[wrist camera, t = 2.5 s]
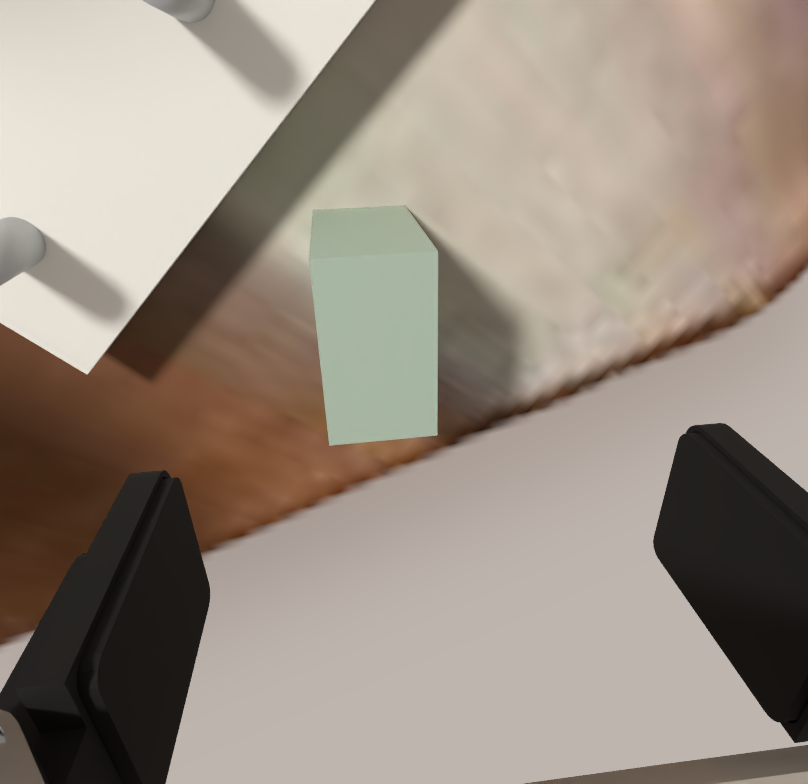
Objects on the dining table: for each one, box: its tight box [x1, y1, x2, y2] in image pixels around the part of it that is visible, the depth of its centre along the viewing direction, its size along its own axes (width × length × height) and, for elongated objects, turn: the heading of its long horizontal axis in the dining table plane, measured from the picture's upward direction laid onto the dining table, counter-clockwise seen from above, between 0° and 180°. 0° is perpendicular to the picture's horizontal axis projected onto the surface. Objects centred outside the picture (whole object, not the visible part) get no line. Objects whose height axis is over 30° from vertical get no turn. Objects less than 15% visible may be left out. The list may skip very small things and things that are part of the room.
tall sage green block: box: [309, 205, 438, 446], centre depth 19 cm, size 6×4×7 cm, turn 2°
